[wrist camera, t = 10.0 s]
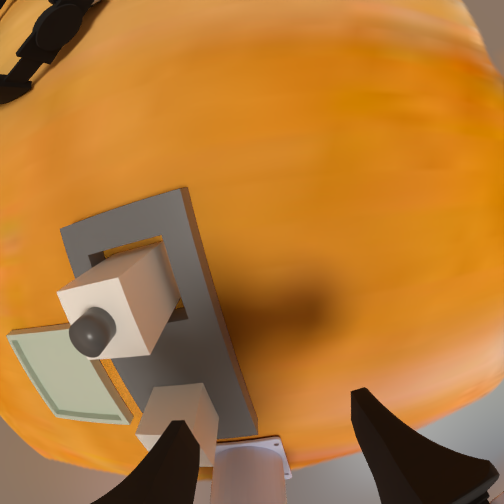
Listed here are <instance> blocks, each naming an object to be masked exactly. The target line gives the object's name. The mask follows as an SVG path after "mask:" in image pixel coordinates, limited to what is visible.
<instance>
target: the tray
mask: <svg viewBox="0 0 504 504" xmlns="http://www.w3.org/2000/svg"><path fill="white" fill-rule="evenodd" d="M70 326H71V325H70V323H67V324H59V325H52V326H44V327H36V328H28V329H20V330H12V331H11V332H10V333H8V334H7V335H6V337H7V339H8V341H9V343H10V345H11V347H12V348H13V350H14V352H15V354H16V356H17V358H18V360H19V361H20V363H21V365H22V367H23V368H24V370H25V372H26V373H27V375H28V377H29V378H30V380H31V382H32V383H33V385H34V386H35V388H36V389H37V391H38V392H39V394H40V395H41V397H42V398H43V400H44V401H45V403H46V404H47V405H48V407H49V408H50V410H51V411H52V412H53V414H54V415H55V416H56V417H59V418H65V419H72V420H79V421H87V422H97V423H109V424H125V425H130V424H131V421H132V419H133V417H134V416H133V415H132V413H131V412H130V410H129V409H128V407H127V406H126V404H125V403H124V401H123V400H122V398H121V396H120V395H119V393H118V392H117V390H116V388H115V387H114V385H113V383H112V382H111V380H110V378H109V376H108V375H107V373H106V371H105V369H104V368H103V366H102V364H101V362H100V360H99V359H95V360H88V359H87V357H86V356H85V355H83V354H81V353H80V352H79V351H78V350H77V349H76V348H75V347H74V346H73V344H72V342H71V340H70V337H69V328H70Z"/></svg>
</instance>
